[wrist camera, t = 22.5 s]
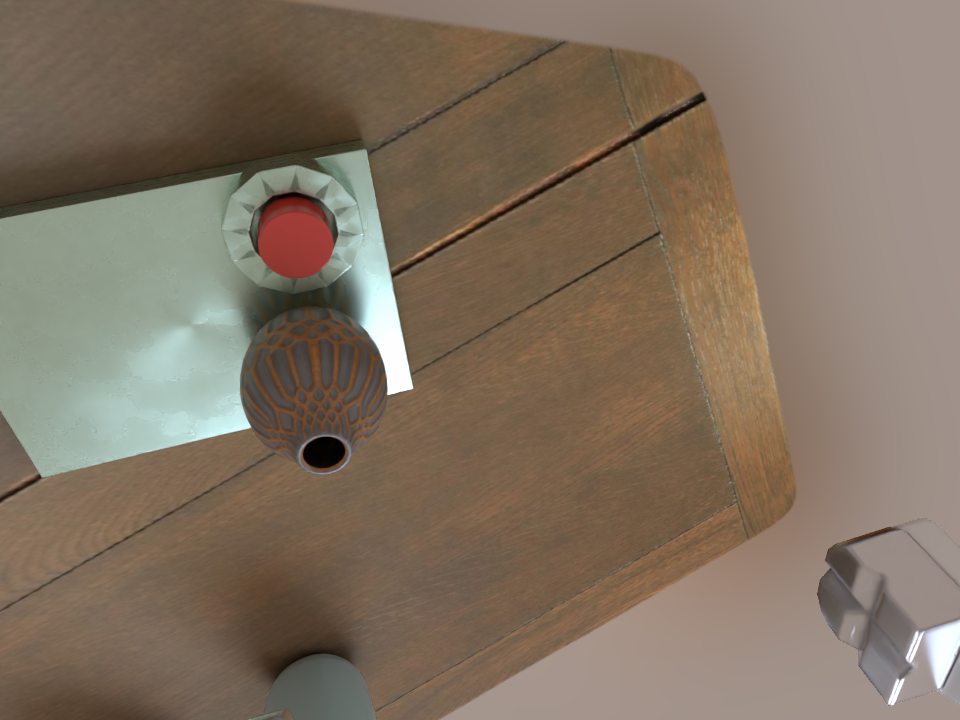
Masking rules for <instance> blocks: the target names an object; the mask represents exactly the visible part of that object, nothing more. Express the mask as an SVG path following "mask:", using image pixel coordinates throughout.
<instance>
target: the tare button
mask: <svg viewBox="0 0 960 720" xmlns="http://www.w3.org/2000/svg"><path fill="white" fill-rule="evenodd" d="M257 232H258V249H259V253H260V256H261V258H262V260H263V262H264V263H265V264H266V265H267V267H268V268H270V269H271V270H272V271H273V272H275V273H277V274H279V275H281V276H284V277H288V278H305V277H309V276H311V275H314V274H316V273H317V272H319V271H320V270H322V269H323V268H324V267H325V266H326V264H327V263H328V262H329V260H330V258H331V256H332V253H333V237H332V233H331V229H330V224H329V221H328V218H327V216H326V214H325V213H324V211H323V210H322V209H321V208H320V207H319V206H318V205H317V204H315V203H314V202H312V201H310V200H307V199H305V198H301V197H285V198H281V199H279V200H276V201H274V202H273V203H271V204H270V205H268V206H267V207H266V208H265V210H264V211H263V212H262V214H261V216H260V218H259V221H258V227H257Z"/></svg>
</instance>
